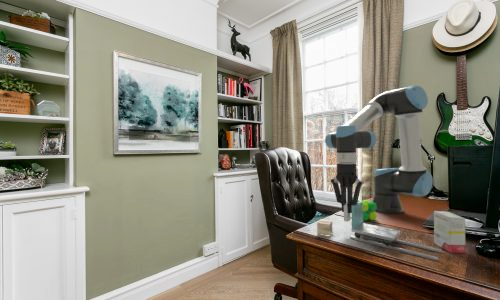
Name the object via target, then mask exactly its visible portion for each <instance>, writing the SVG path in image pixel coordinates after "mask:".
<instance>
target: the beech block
mask: <svg viewBox="0 0 500 300" xmlns="http://www.w3.org/2000/svg"><path fill="white" fill-rule="evenodd" d="M316 225H317V226H316V227H317V228H316V229H317V230H316V235H317V234H323V235H331V236H332V234H333V220H327V219H319V220H318V221H317V222H316ZM331 233H332V234H331Z"/></svg>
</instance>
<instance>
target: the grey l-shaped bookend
mask: <svg viewBox="0 0 500 300" xmlns="http://www.w3.org/2000/svg"><path fill="white" fill-rule="evenodd" d="M359 201H360V202H358V203H355V204H353V205H352V213H351V232H353V233H354V237H356V238H361V237H362V235H363V234H364V235H365V236H369V237H372V236H373V238H376V237H377V238H376V239H380V238H381V240H383V244H385V245H391V244H392V242H393V240H394V239H397V237H398V236H399V235H400V234H401V230H398V229H393V228H389V227H384V226H379V225H373V224H369V223H365V222H364V221H363V202H362V201H363V200H359ZM364 235H363V236H364Z"/></svg>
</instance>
